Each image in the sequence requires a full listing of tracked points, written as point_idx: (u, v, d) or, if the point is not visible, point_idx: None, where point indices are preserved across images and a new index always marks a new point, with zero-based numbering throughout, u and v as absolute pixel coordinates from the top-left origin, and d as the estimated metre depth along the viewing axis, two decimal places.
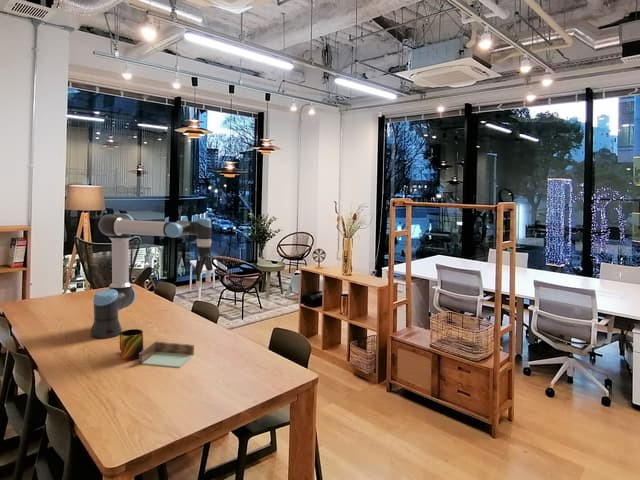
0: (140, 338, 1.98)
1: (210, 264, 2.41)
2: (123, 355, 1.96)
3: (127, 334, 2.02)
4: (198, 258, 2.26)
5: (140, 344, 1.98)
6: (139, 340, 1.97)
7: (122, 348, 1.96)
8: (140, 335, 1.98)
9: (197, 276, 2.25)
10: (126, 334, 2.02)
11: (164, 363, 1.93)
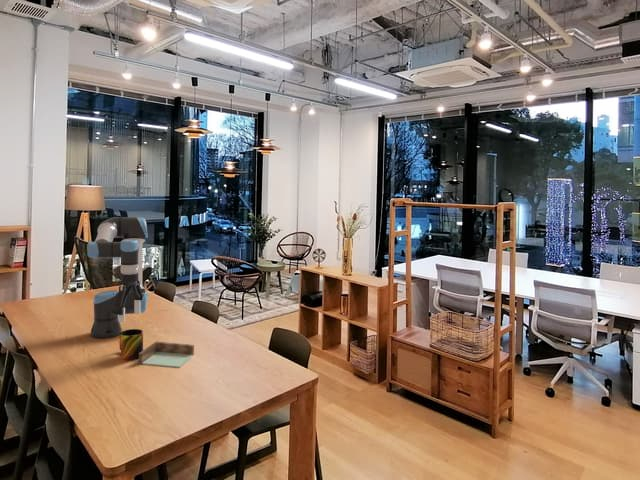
0: (140, 338, 1.98)
1: (140, 293, 2.06)
2: (123, 355, 1.96)
3: (127, 334, 2.02)
4: (121, 287, 1.91)
5: (140, 344, 1.98)
6: (139, 340, 1.98)
7: (122, 348, 1.96)
8: (140, 334, 1.98)
9: (119, 309, 1.90)
10: (126, 334, 2.02)
11: (164, 363, 1.93)
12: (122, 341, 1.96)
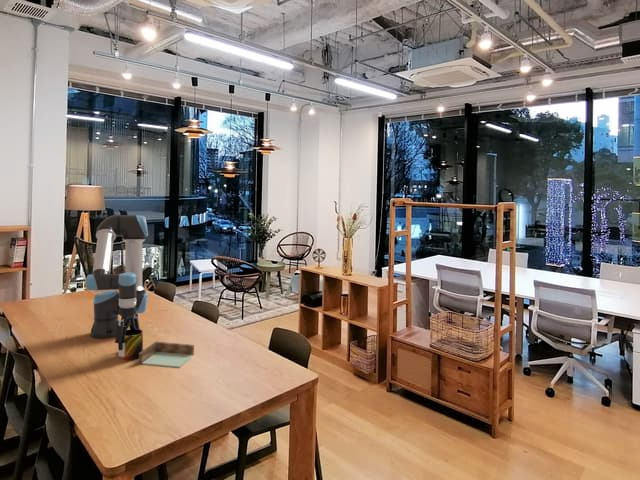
0: (140, 338, 1.98)
1: (137, 327, 2.06)
2: None
3: (127, 334, 2.02)
4: (119, 323, 1.92)
5: (140, 344, 1.98)
6: (139, 340, 1.98)
7: None
8: (140, 334, 1.98)
9: (119, 344, 1.93)
10: None
11: (164, 363, 1.93)
12: None
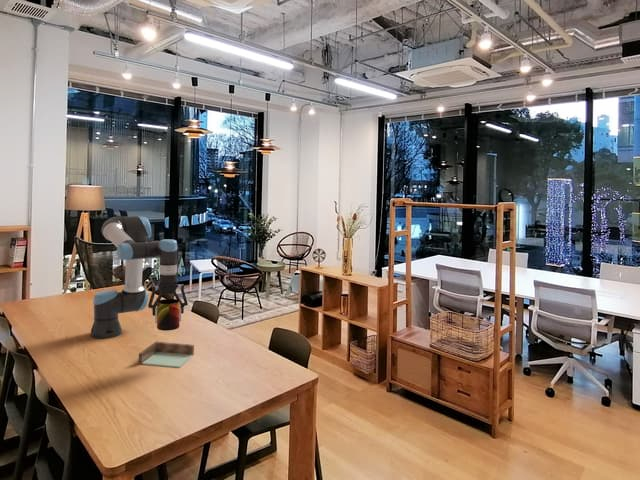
0: (167, 309, 1.87)
1: None
2: None
3: (173, 303, 1.96)
4: (152, 288, 1.90)
5: (167, 315, 1.87)
6: (165, 310, 1.87)
7: None
8: (167, 305, 1.87)
9: (152, 309, 1.91)
10: (172, 303, 1.96)
11: (164, 363, 1.93)
12: None
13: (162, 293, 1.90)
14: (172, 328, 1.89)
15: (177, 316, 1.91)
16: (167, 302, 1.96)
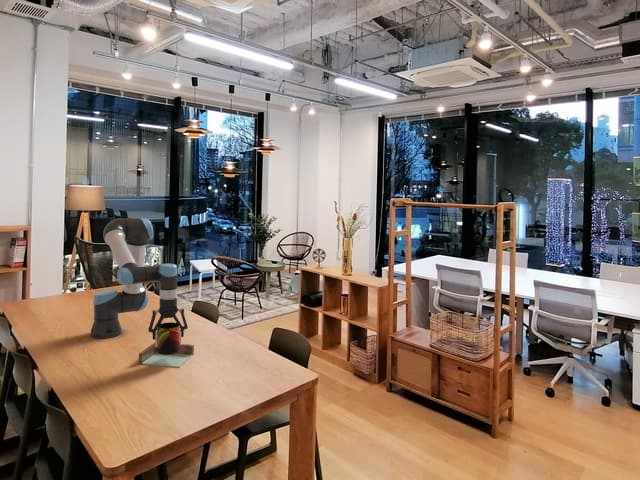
0: (167, 333, 1.88)
1: None
2: None
3: (173, 327, 1.97)
4: (152, 312, 1.91)
5: (167, 340, 1.89)
6: (165, 335, 1.88)
7: None
8: (167, 330, 1.88)
9: None
10: (172, 326, 1.97)
11: (164, 363, 1.93)
12: None
13: (162, 317, 1.91)
14: (172, 352, 1.90)
15: (177, 340, 1.92)
16: (167, 326, 1.97)
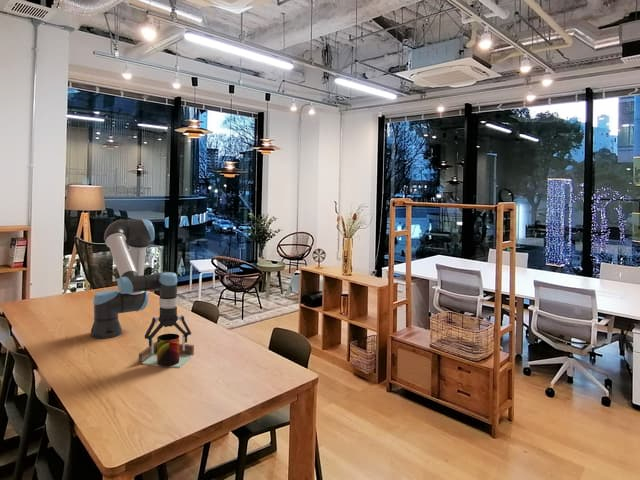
0: (167, 345, 1.89)
1: (186, 329, 1.97)
2: None
3: (173, 338, 1.98)
4: (152, 319, 1.91)
5: (167, 351, 1.89)
6: (165, 347, 1.89)
7: None
8: (167, 342, 1.89)
9: None
10: (171, 337, 1.98)
11: None
12: None
13: (161, 325, 1.92)
14: (172, 364, 1.91)
15: (177, 351, 1.93)
16: (167, 337, 1.98)
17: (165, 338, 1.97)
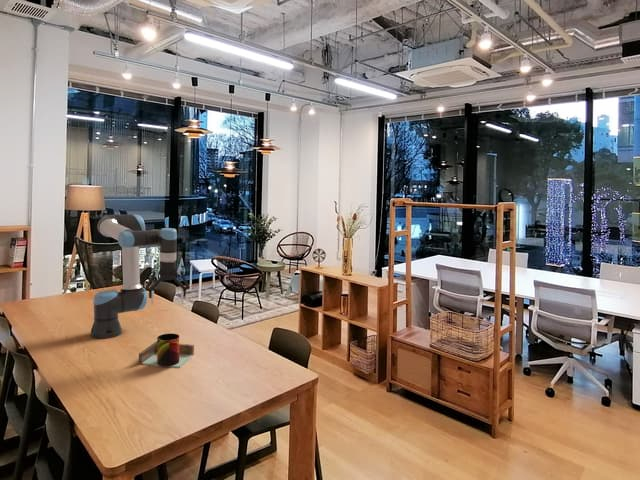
0: (167, 345, 1.89)
1: (185, 284, 2.05)
2: None
3: (173, 338, 1.98)
4: (152, 272, 1.99)
5: (167, 351, 1.89)
6: (165, 347, 1.89)
7: None
8: (167, 342, 1.89)
9: None
10: (172, 337, 1.98)
11: None
12: None
13: (161, 278, 2.00)
14: (172, 364, 1.91)
15: (177, 351, 1.93)
16: (167, 337, 1.98)
17: (165, 338, 1.97)
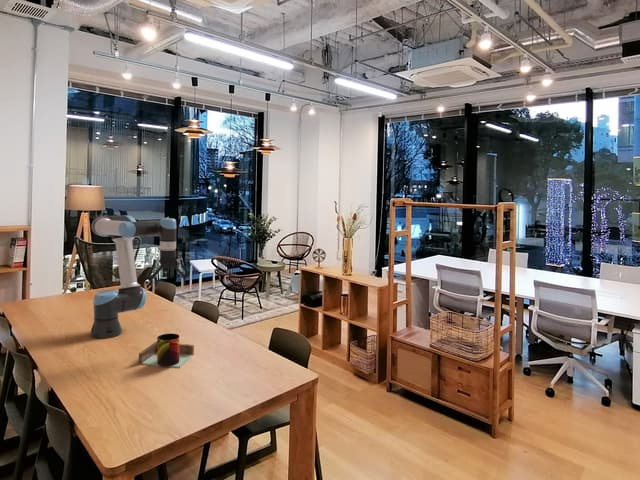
0: (167, 345, 1.89)
1: None
2: None
3: (173, 338, 1.98)
4: (153, 261, 2.07)
5: (167, 351, 1.89)
6: (166, 347, 1.89)
7: None
8: (168, 342, 1.89)
9: (150, 280, 2.08)
10: (172, 337, 1.98)
11: None
12: None
13: (161, 266, 2.08)
14: (172, 364, 1.91)
15: (177, 351, 1.93)
16: (167, 337, 1.98)
17: (165, 338, 1.97)
